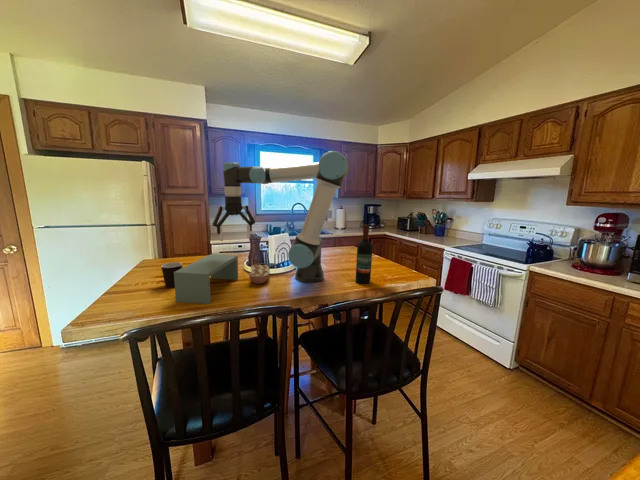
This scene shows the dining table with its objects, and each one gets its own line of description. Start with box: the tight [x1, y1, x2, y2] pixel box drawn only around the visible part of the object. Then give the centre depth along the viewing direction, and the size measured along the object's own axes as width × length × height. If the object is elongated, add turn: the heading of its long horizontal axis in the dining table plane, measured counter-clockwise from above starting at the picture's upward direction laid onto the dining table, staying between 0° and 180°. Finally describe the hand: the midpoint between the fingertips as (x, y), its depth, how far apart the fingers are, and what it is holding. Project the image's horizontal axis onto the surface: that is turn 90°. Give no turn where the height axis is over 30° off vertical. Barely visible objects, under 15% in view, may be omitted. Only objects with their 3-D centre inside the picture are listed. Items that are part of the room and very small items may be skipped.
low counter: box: [174, 253, 239, 305], centre depth 124 cm, size 14×31×12 cm, turn 175°
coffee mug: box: [160, 262, 183, 289], centre depth 128 cm, size 12×9×10 cm
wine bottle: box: [354, 223, 374, 285], centre depth 137 cm, size 8×8×30 cm
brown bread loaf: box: [249, 263, 271, 285], centre depth 140 cm, size 23×10×5 cm, turn 11°
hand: (235, 239), depth 134 cm, fingers open, 13 cm apart
